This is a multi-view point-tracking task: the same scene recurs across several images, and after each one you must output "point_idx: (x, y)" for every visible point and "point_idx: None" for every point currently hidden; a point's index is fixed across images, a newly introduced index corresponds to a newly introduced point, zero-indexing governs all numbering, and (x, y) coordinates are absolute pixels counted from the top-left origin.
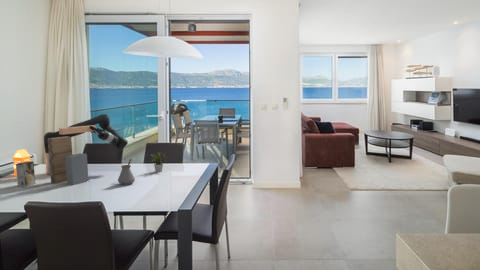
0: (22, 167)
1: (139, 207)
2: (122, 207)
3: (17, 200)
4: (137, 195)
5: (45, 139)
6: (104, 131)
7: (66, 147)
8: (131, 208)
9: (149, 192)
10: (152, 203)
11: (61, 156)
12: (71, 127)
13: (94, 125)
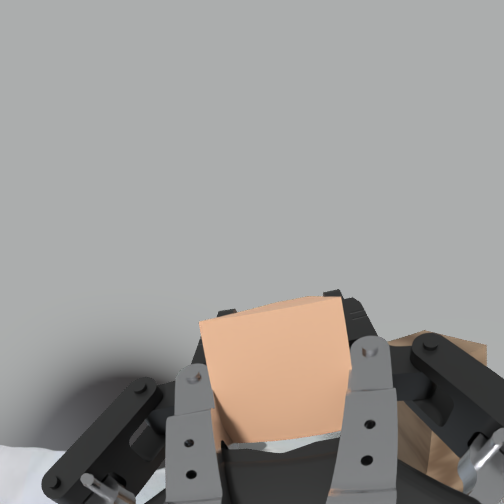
0: None
1: (38, 452)
2: (62, 454)
3: (294, 442)
4: (36, 489)
5: None
6: (50, 482)
7: (414, 423)
8: (49, 451)
9: (11, 496)
10: (18, 458)
11: (401, 448)
12: (295, 299)
13: (233, 316)
